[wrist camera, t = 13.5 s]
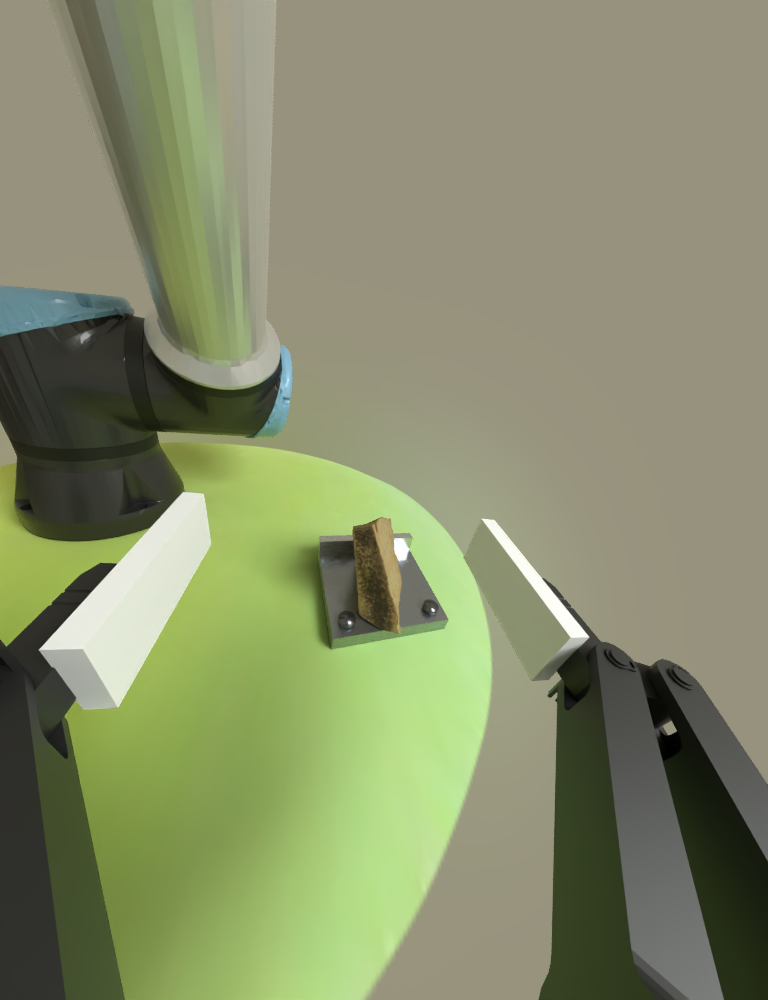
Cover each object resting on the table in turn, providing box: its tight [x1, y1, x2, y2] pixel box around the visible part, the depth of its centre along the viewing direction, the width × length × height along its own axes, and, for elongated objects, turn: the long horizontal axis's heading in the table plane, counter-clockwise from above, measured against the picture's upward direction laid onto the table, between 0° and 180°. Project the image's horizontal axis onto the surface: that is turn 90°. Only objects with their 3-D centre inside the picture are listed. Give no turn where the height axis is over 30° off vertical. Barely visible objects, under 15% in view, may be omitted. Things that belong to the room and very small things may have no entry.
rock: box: [353, 517, 402, 634], centre depth 29 cm, size 11×9×10 cm
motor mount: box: [317, 533, 448, 649], centre depth 31 cm, size 12×12×4 cm
